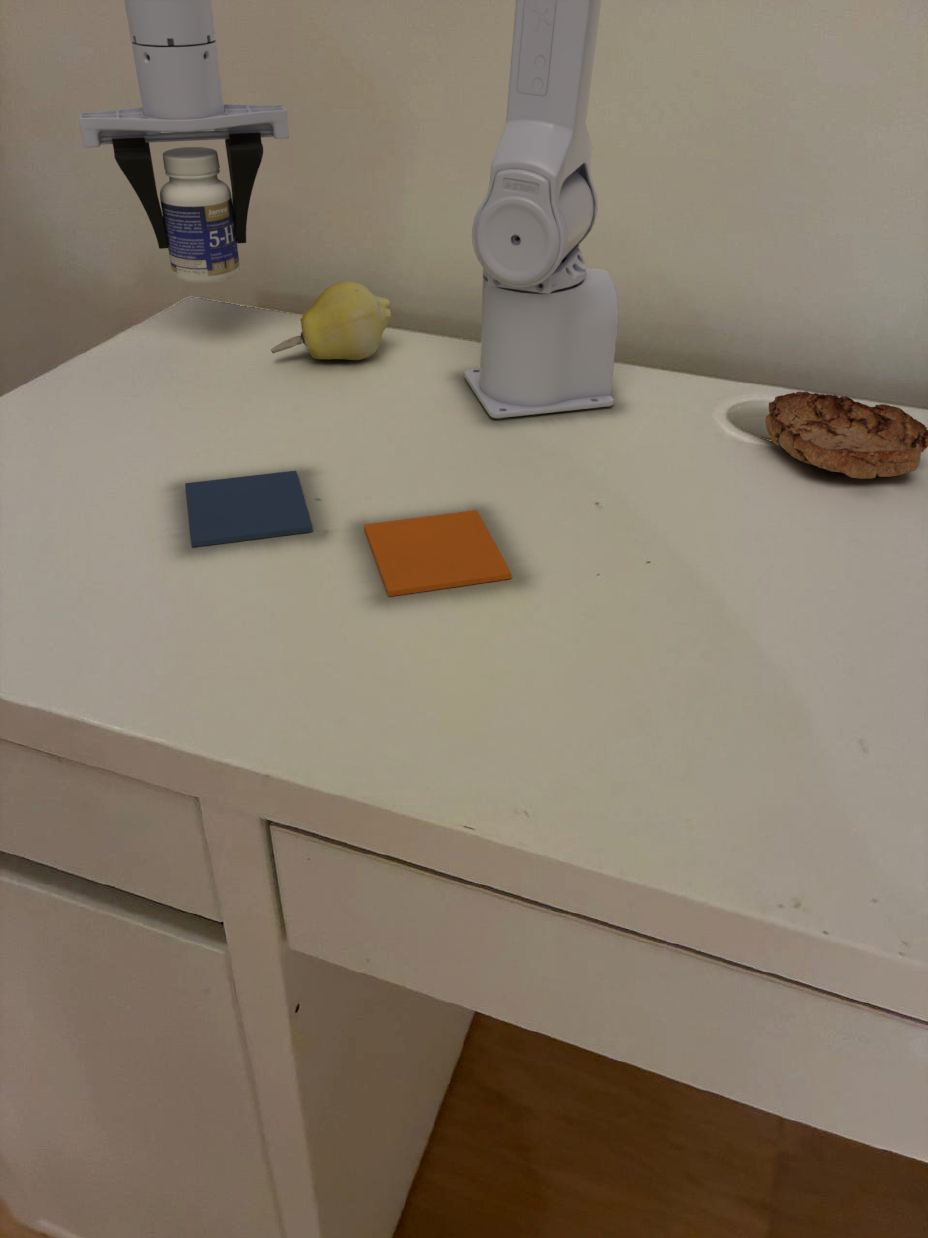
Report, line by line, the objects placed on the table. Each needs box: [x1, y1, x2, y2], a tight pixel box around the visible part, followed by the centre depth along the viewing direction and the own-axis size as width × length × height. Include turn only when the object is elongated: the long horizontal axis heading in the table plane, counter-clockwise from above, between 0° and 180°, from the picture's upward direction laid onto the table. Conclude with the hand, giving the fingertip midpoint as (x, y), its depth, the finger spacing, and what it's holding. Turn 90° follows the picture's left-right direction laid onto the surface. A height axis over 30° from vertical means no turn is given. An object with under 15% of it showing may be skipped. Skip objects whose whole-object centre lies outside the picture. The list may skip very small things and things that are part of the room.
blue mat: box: [184, 470, 313, 548], centre depth 61 cm, size 7×7×1 cm
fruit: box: [270, 281, 392, 361], centre depth 78 cm, size 6×6×10 cm
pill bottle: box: [159, 146, 241, 284], centre depth 76 cm, size 5×5×9 cm
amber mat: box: [363, 509, 512, 597], centre depth 57 cm, size 7×7×1 cm
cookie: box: [765, 390, 928, 480], centre depth 67 cm, size 10×11×3 cm
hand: (203, 242), depth 77 cm, fingers closed on pill bottle, 5 cm apart
